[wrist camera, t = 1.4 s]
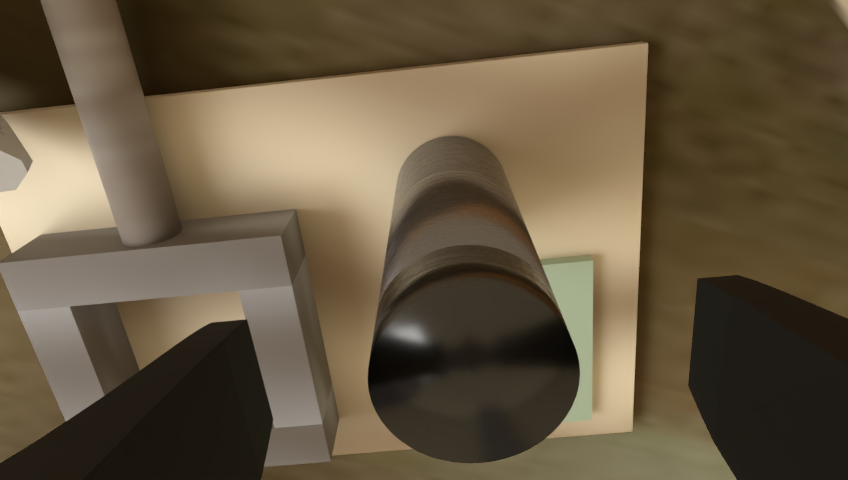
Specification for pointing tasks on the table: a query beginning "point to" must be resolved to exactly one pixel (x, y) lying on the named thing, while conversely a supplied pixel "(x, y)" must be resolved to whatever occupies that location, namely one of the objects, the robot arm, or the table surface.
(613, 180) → the chuck board
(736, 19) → the table surface
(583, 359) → the rubber mat
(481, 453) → the dark metal cylinder
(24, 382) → the table surface
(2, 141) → the wrench
